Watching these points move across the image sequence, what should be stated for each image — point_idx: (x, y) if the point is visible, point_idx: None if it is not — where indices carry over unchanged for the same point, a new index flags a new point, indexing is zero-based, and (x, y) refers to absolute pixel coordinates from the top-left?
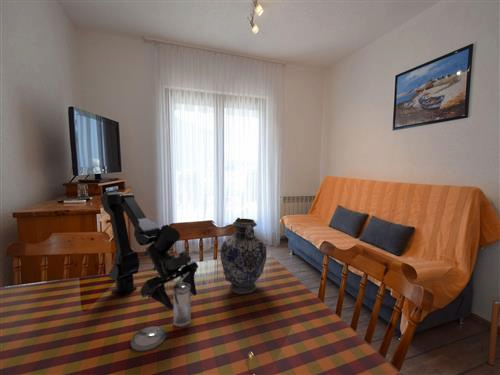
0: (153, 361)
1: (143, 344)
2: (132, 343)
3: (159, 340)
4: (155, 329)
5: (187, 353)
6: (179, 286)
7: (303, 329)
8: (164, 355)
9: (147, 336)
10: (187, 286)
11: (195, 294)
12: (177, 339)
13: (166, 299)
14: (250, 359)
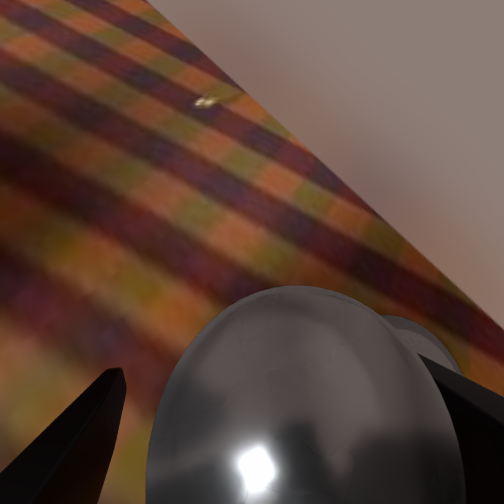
0: (405, 270)
1: (437, 348)
2: None
3: None
4: None
5: (318, 219)
6: (354, 474)
7: (31, 37)
8: (373, 264)
9: None
10: (251, 348)
11: (121, 371)
12: None
13: (486, 388)
14: (219, 98)
